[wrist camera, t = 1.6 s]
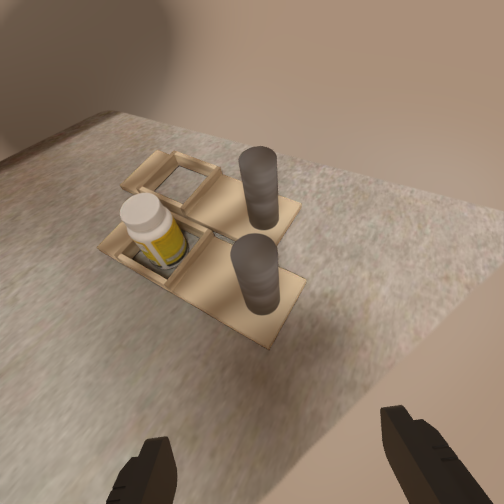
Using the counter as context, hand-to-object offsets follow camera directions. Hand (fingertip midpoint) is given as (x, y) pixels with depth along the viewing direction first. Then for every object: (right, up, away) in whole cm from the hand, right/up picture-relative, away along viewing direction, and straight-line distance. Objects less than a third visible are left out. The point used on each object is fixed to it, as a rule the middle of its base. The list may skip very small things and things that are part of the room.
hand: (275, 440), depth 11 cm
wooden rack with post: (-7, +5, +23) cm, 25 cm away
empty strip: (-7, +14, +28) cm, 32 cm away
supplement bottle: (-11, +7, +24) cm, 27 cm away
